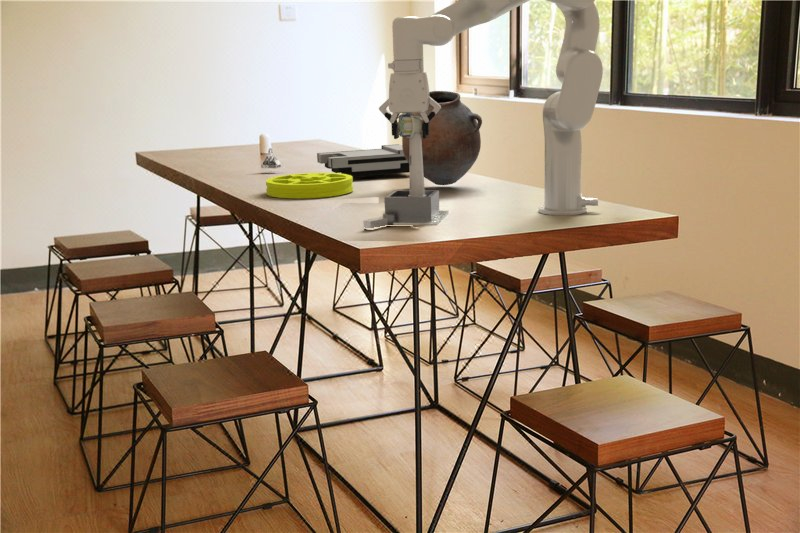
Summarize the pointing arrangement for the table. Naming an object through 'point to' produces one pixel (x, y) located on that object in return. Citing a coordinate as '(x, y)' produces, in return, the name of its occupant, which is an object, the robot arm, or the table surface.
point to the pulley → (309, 185)
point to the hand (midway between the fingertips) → (410, 137)
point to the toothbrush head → (413, 151)
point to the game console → (366, 161)
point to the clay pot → (448, 140)
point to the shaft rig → (409, 210)
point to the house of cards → (271, 161)
